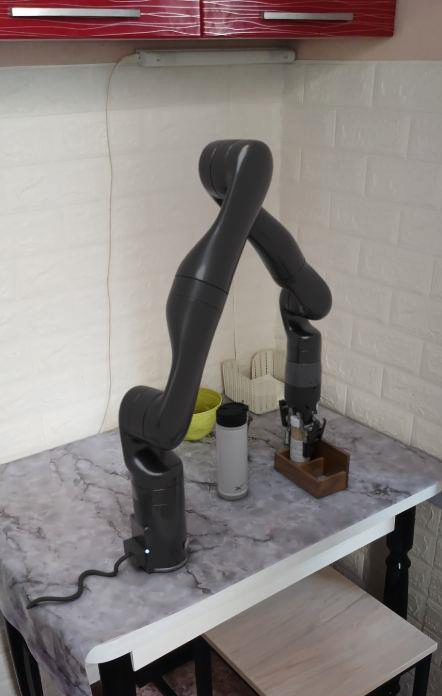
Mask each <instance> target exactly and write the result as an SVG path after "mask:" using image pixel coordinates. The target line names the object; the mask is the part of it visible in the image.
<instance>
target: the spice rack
mask: <svg viewBox="0 0 442 696" xmlns="http://www.w3.org/2000/svg"><path fill="white" fill-rule="evenodd" d="M316 436H317V435H316ZM273 455H274V456H273V457H274V458H273V469H274V470H275V471H277V472H278V473H280V474H281V475H282V476H284V477H285V478H287V479H289V480H290V481H291V482H293V483H294V484H296V485H297V486H298V487H299V488H301V489H302V490H304V492H307V493H308V494H310V495H311V496H313V497H314V498H316V499H318V500H319V499H321V498H324V497H327V496H329V495H333V494H336V493H337V492H341V491H343V490H345V489H348V488H349V477H350V476H349V475H350V462H351V454H350V453H348V452H347V451H346V450H344V449H343V448H340V447H339V446H337V445H335V444H333V443H332V442H330V441H329V440H327V439H325V438H324V437H322V439H321V441H318V442H315V443H314V447H313V455H312V456H311V458H310V461H308V462H306V463H303V464H300V465H296V464H294V463H293V462H292V461H290V448H289V447H288V448H284V449H282V450H279V451H275V452H274V453H273ZM323 475H324V476H325V477H323V478H320V479H318V478H317V477H321V476H323Z"/></svg>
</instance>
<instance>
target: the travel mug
mask: <svg viewBox="0 0 442 696" xmlns="http://www.w3.org/2000/svg"><path fill="white" fill-rule="evenodd" d="M249 410H250V406H249V405H248V404H245V402H244V403H242V402H241V401H240V402H239V401H233V402H231V401H230V402H226V403H223V404H221V405H219V406H217V408H216V410H215V444H216V478H217V494H218V496H219V497H220V498H221V499H223V500H227V501H238V500H241V499H244V498H245V497H246V496H247V495H248V494H249V493H248V492H249V487H248V485H249V481H248V478H249V477H248V473H249V472H248V471H249V470H248V469H249V468H248V461H249V460H248V456H249V455H248V436H247V413H248V412H249ZM247 455H248V456H247Z"/></svg>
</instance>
